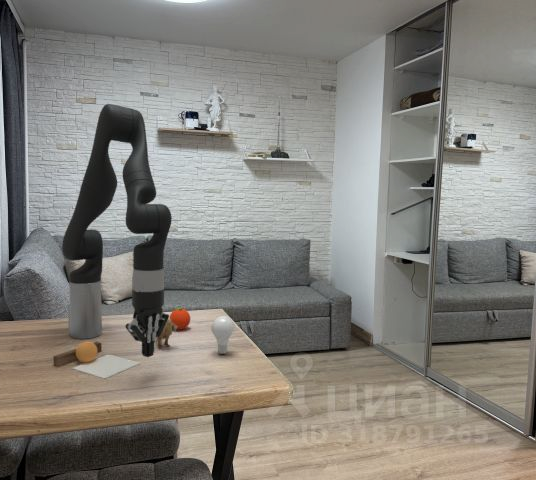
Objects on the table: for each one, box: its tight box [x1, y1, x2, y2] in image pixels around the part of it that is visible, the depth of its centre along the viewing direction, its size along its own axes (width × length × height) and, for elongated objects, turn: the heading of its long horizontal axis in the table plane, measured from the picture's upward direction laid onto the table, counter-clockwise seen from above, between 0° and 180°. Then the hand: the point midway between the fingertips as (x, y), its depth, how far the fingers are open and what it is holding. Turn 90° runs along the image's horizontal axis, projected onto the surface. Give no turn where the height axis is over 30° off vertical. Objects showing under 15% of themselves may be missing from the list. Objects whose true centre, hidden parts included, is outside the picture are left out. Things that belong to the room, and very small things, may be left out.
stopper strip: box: [53, 341, 102, 368], centre depth 129 cm, size 2×14×2 cm, turn 150°
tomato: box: [168, 307, 191, 331], centre depth 158 cm, size 8×7×7 cm
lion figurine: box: [154, 318, 178, 350], centre depth 143 cm, size 15×5×9 cm, turn 36°
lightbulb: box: [211, 315, 235, 355], centre depth 135 cm, size 6×6×11 cm
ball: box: [75, 341, 98, 364], centre depth 127 cm, size 6×6×6 cm
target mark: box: [71, 354, 141, 380], centre depth 124 cm, size 12×12×1 cm
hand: (147, 355), depth 116 cm, fingers closed
